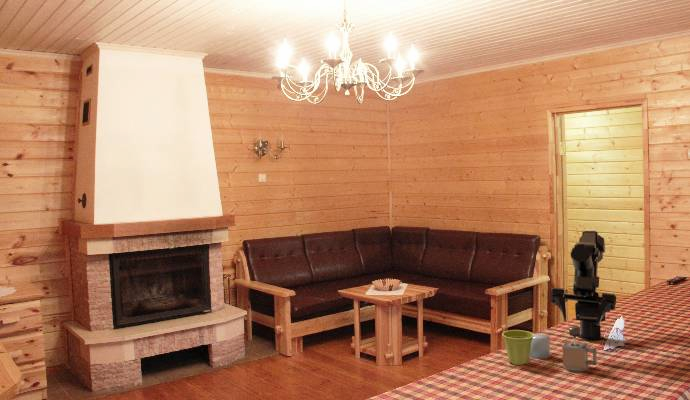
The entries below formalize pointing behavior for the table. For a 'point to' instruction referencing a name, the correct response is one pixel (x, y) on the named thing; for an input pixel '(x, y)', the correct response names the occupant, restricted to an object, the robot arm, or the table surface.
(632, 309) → the table surface
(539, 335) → the grey rounded cylinder
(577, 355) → the press carafe
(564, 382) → the table surface
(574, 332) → the plunger
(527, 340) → the plant pot
